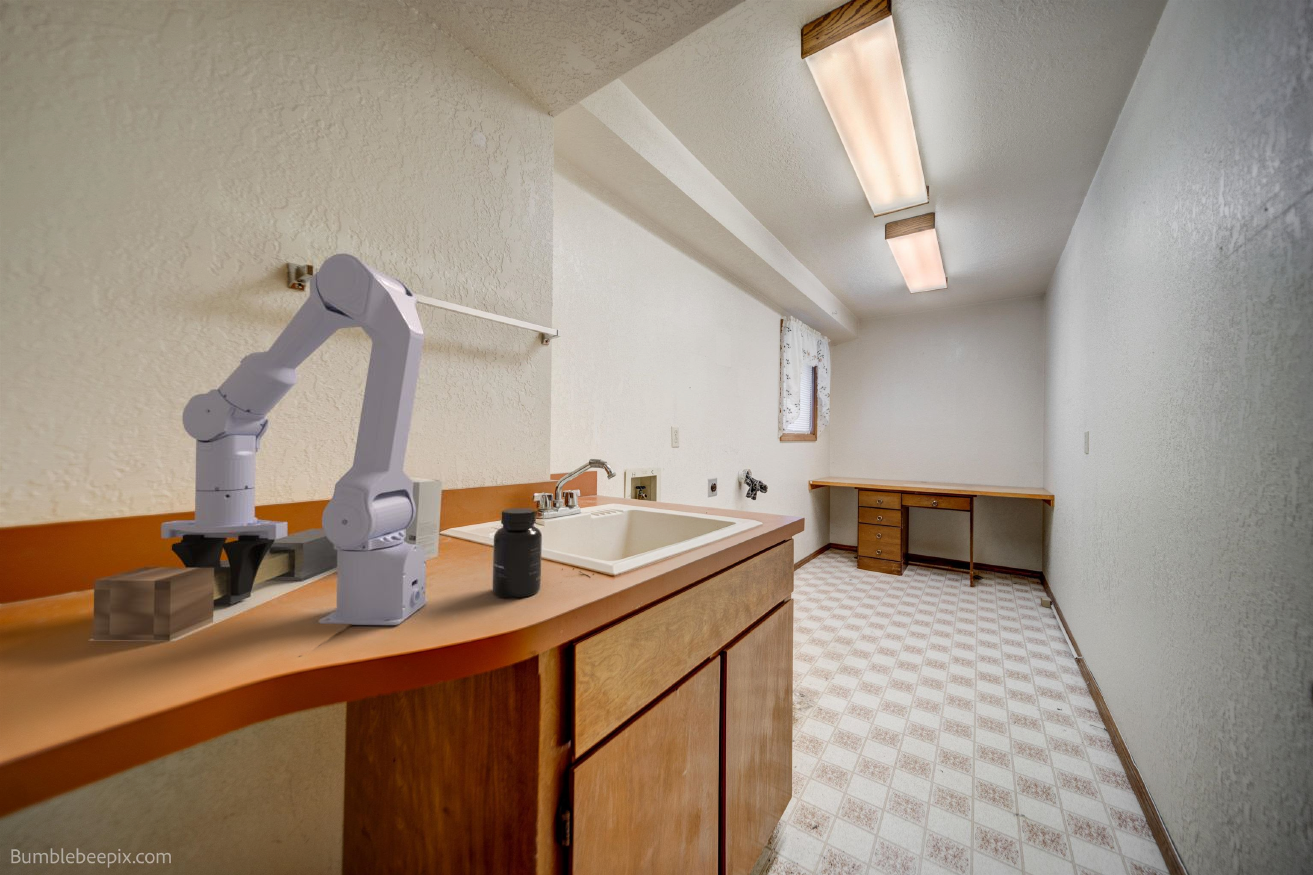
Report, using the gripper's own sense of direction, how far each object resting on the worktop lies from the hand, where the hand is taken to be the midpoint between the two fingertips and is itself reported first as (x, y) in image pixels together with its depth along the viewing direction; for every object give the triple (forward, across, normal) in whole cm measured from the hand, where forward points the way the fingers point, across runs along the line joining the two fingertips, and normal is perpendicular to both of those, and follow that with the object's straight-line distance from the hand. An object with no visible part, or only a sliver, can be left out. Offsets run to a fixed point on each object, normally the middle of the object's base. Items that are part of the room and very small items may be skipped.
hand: (224, 593), depth 61 cm
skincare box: (+2, -12, -24) cm, 27 cm away
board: (+2, 0, -5) cm, 5 cm away
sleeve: (+1, 0, -15) cm, 15 cm away
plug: (+1, 0, -2) cm, 2 cm away
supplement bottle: (+2, -36, -7) cm, 37 cm away
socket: (+1, 0, +8) cm, 9 cm away
